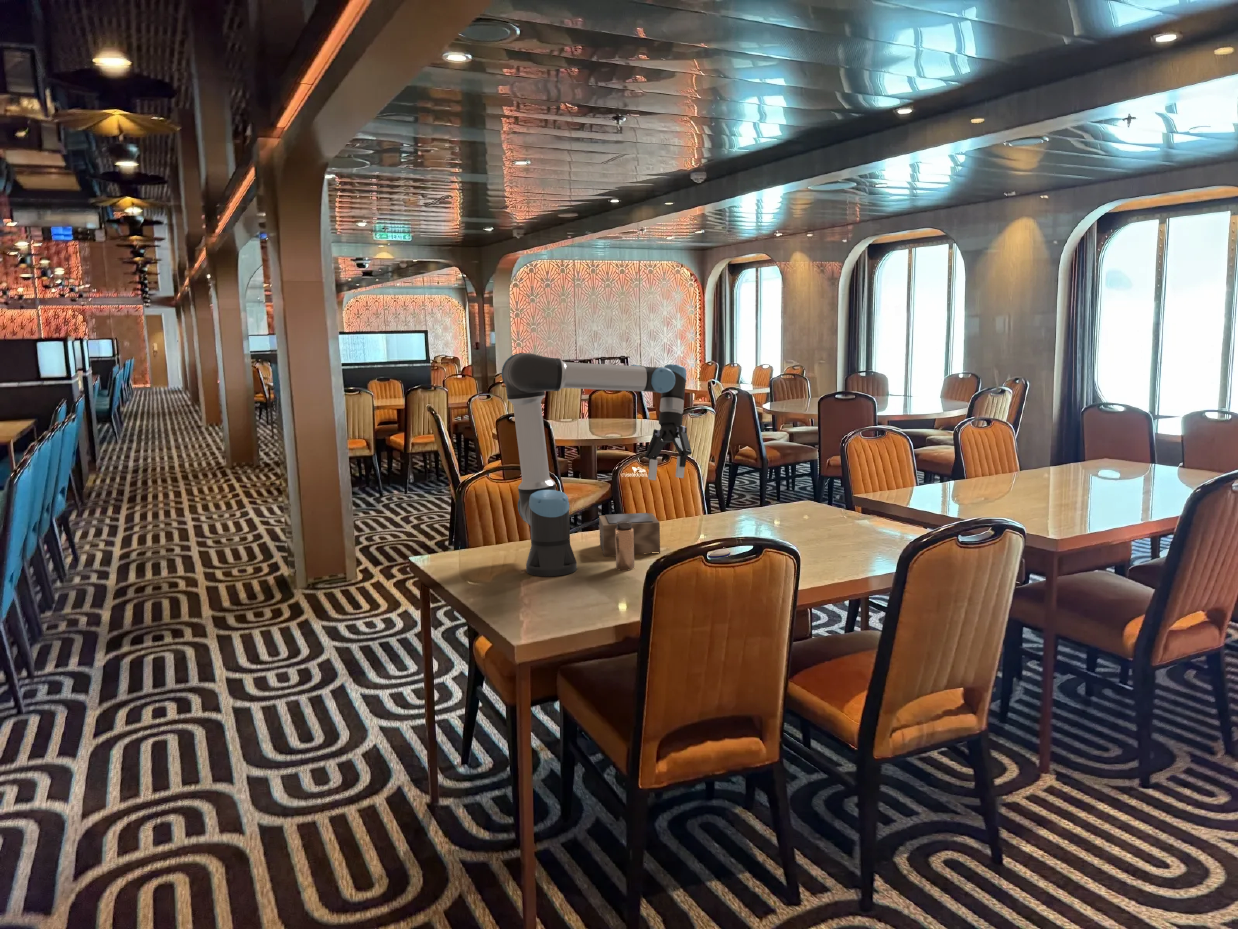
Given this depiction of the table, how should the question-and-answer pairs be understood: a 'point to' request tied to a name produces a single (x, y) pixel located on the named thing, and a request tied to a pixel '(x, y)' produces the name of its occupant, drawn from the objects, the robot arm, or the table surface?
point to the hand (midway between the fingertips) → (665, 478)
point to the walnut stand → (643, 532)
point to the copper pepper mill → (624, 545)
